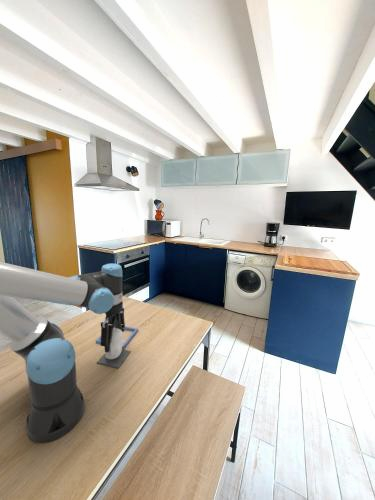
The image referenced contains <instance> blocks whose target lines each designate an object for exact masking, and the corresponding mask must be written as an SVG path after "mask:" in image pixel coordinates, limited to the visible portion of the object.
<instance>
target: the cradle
mask: <svg viewBox="0 0 375 500" xmlns="http://www.w3.org/2000/svg"><path fill="white" fill-rule="evenodd" d="M115 328H116V327H114V328H113V329H115ZM123 329H124V331H127V332H128V331H129V332H132V333H131V334H130V335H129V336H128V338H127V339H126V340H125V341H124V345H123V347H122V349H124V350H126V347H127V346H128V345H129V343H130V342H131V341H132V339H134V337H135V336H136V335H137V333H138V332H139V328H136V327H131V326H126V325H125V328H123ZM95 344H98V345H101V335H100V336H99V337H98V338H97V339H96V340H95Z"/></svg>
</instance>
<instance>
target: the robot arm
mask: <svg viewBox="0 0 375 500" xmlns="http://www.w3.org/2000/svg"><path fill="white" fill-rule="evenodd" d="M123 276H124V275H123V269H122V266H121V265H120V264H118V263H106V264H104V265H102V267H101V271H96V272H90V273H84V274H77V275H73V276H69V277H67V276H62V275H58V274H54V273H49V272H45V271H42V270H37V269H33V268H29V267H24V266H20V265H15V264H11V263H9V262H8V263H7V262H3V261H0V335H2V337H4V338H6V339H7V340H8V341H10V344H9V345H10V346H9V348H10V350H11V351H13V352H14V353H16V354H17V356H20V357H22V359H24V362H25V371H26V375H27V380H28V389H29V396H30V402H31V404H30V408H29V412H28V415H27V418H26V423H25V427H26V428H25V429H26V432H27V436H28V438H29V439H30V440H32V441H33V442H36V443H47V442H52V441H54V440H58V439H60V438H61V437H63V436H65V435H66V434H67V433H69V432H70V431H71V430H73V428H74V427H75V426H76V425H77V424H78V423H79V422H80V420H81V419H82V417H83V414H84V412H85V398H84V395H83V393H82V391H81V390H80V389H79V387H78V383H77V369H76V368H77V367H76V365H77V364H76V357H77V355H76V351H75V348H74V345H73V343H72V342H71V341H70V340H68V339H66V338H65V336H64V332H63V330H62V329H61V327H59V326H58V325H57V324H56V323H54V322H51V321H49V320H48V319H46V318H45V317H40V318H37V316H35V315H34V314H32V313H31V312H30V311H29V310H28V309H27V308H26V307H25V306H23V305H22V304H21V303H20V302H19V301H18V300H17V299H22V300H31V301H38V302H43V303H45V302H46V303H52V304H58V305H65V306H66V305H67V306H73V307H79V308H85V309H89V310H90V311H91V312H93V313H94V314H97V315H102V314H105V320H104V322H100V328H101V330H100V336H101V344H100V346H101V347H104V348H105V349H104V353H105V357H107V358H112V343H111V338H112V332H113V329H115V328H114V327H116V328H118V329H120V330H121V331H122V332H123V333H124V332H125V330H124V329H123V328H125V326H126V323H125V308H124V306H123V304H124V302H123V298H124V296H123ZM15 298H16V299H15Z"/></svg>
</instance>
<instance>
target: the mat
mask: <svg viewBox="0 0 375 500" xmlns="http://www.w3.org/2000/svg"><path fill="white" fill-rule="evenodd" d="M130 353H131V350H127V349H122V350H121V354H120V355H119V356H118V357H117V358H115V359H108V358H106V357H105V352H104V354H103V355H102V356H101V357H100V358H99V359H98V360H97V361H96V364H98V365H101V366H105V367H111V368H115V369H120V368H121V366H122V364H123V363H124V362H125V361H126V359H127V358H128V356H129V355H130Z"/></svg>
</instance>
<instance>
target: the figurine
mask: <svg viewBox="0 0 375 500" xmlns="http://www.w3.org/2000/svg"><path fill="white" fill-rule="evenodd" d="M123 337H124V332H122V331H121V330H120V329H118V328H113V332H112V338H111V343H112V358H108V359H115V358H117V357H118V356H119V355H120V354H121V350H122V347H123V345H124V343H125V340H124V339H123ZM104 350H105V347H104ZM106 358H107V357H106Z"/></svg>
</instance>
